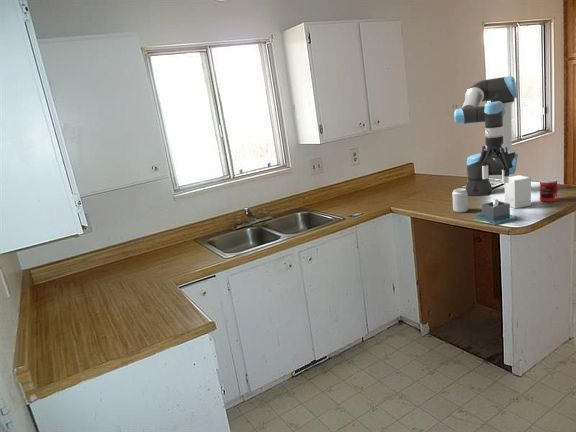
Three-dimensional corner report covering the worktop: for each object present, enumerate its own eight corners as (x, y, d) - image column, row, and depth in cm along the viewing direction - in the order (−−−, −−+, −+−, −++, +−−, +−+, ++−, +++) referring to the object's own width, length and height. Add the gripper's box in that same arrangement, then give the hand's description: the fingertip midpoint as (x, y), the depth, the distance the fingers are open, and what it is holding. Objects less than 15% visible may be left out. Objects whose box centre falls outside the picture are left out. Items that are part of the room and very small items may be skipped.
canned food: (552, 197, 225) (552, 177, 222) (560, 201, 217) (560, 180, 215) (536, 199, 226) (537, 179, 223) (544, 203, 218) (544, 182, 216)
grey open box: (482, 216, 209) (481, 204, 208) (498, 212, 211) (497, 200, 210) (493, 219, 202) (493, 207, 200) (509, 215, 204) (509, 203, 202)
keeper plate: (475, 218, 212) (475, 199, 210) (496, 213, 215) (496, 195, 212) (495, 224, 199) (494, 205, 197) (517, 219, 201) (517, 200, 199)
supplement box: (531, 206, 217) (531, 177, 213) (514, 209, 217) (514, 180, 213) (520, 202, 226) (520, 174, 222) (504, 205, 226) (503, 177, 222)
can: (450, 210, 230) (449, 189, 227) (464, 208, 231) (463, 186, 228) (457, 213, 223) (456, 191, 220) (470, 211, 224) (470, 189, 220)
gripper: (469, 136, 208) (471, 178, 214) (506, 139, 184) (507, 186, 190) (483, 133, 209) (484, 175, 215) (521, 136, 186) (521, 183, 192)
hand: (495, 180), depth 203 cm, fingers open, 13 cm apart
